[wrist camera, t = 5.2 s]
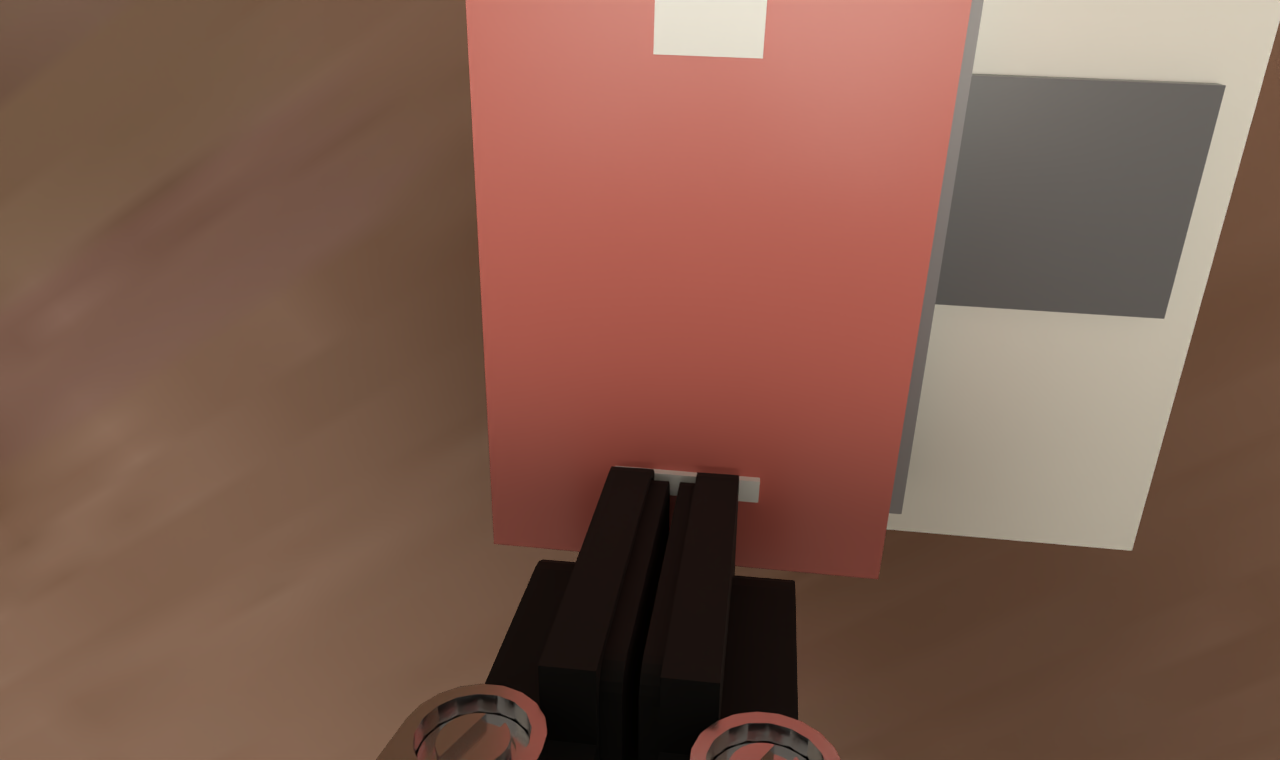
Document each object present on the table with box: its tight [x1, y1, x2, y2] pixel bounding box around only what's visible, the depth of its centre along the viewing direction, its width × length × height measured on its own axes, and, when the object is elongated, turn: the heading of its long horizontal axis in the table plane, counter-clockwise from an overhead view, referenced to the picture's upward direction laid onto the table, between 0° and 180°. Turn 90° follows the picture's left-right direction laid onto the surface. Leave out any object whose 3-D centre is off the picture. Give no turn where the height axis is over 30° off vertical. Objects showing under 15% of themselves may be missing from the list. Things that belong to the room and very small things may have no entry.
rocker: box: [466, 0, 972, 579], centre depth 12 cm, size 5×8×3 cm, turn 179°
